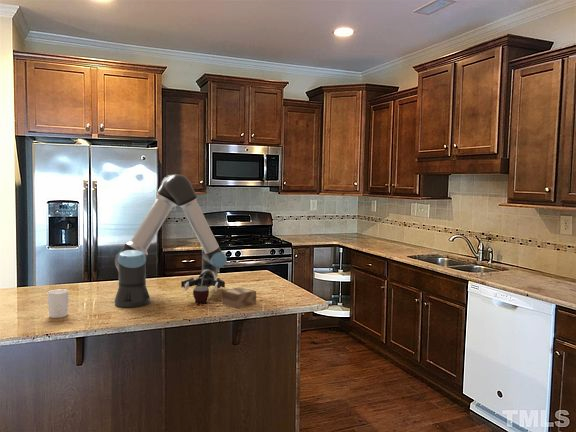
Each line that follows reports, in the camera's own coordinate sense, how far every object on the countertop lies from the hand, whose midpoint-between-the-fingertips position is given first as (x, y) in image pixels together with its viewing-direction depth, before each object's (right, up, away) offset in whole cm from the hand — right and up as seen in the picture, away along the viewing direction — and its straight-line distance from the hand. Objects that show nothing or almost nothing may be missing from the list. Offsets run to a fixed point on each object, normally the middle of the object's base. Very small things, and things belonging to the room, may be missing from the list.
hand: (200, 288), depth 207 cm
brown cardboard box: (+17, -8, +5) cm, 19 cm away
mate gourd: (0, -8, +4) cm, 9 cm away
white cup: (-55, -9, -18) cm, 58 cm away
